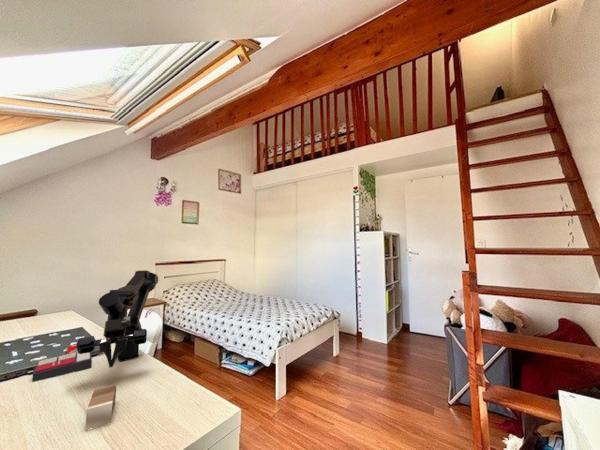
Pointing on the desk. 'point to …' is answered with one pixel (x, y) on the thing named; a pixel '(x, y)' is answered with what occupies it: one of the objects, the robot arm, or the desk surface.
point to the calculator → (62, 365)
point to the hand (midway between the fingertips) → (110, 366)
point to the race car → (71, 349)
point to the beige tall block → (101, 407)
